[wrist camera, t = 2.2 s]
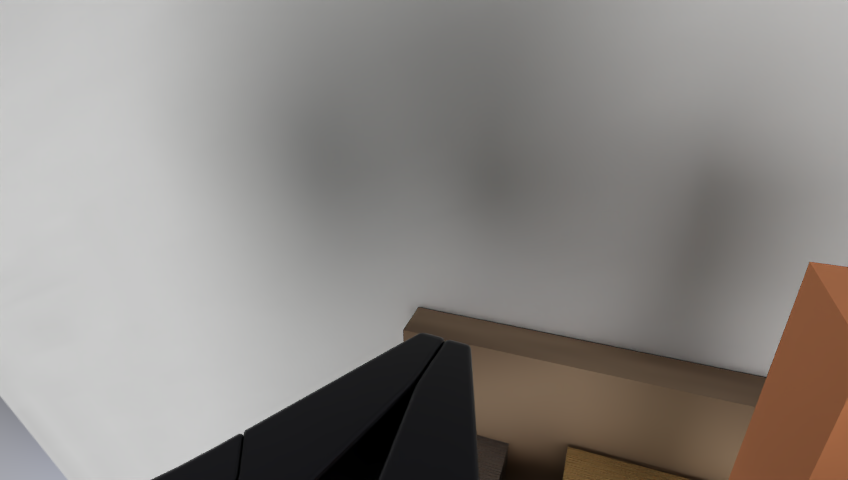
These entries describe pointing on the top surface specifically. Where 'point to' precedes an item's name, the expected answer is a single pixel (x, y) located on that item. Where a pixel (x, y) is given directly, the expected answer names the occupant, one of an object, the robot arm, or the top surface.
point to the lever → (804, 390)
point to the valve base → (594, 407)
